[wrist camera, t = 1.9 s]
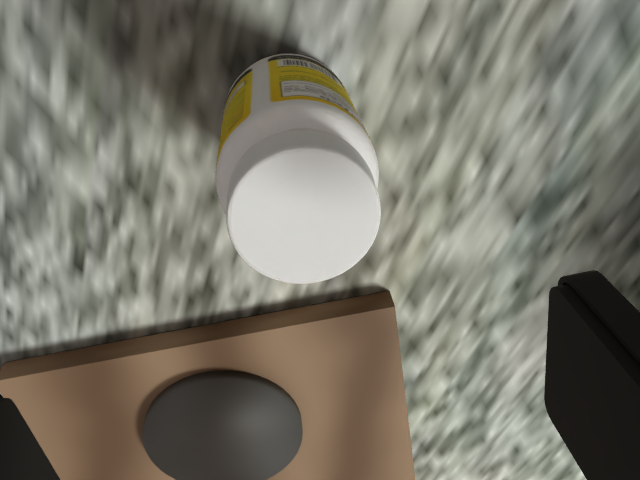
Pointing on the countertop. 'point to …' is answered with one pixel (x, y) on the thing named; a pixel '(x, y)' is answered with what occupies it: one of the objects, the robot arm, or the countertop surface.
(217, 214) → the countertop surface
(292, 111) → the supplement bottle
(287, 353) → the pin board
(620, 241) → the countertop surface
